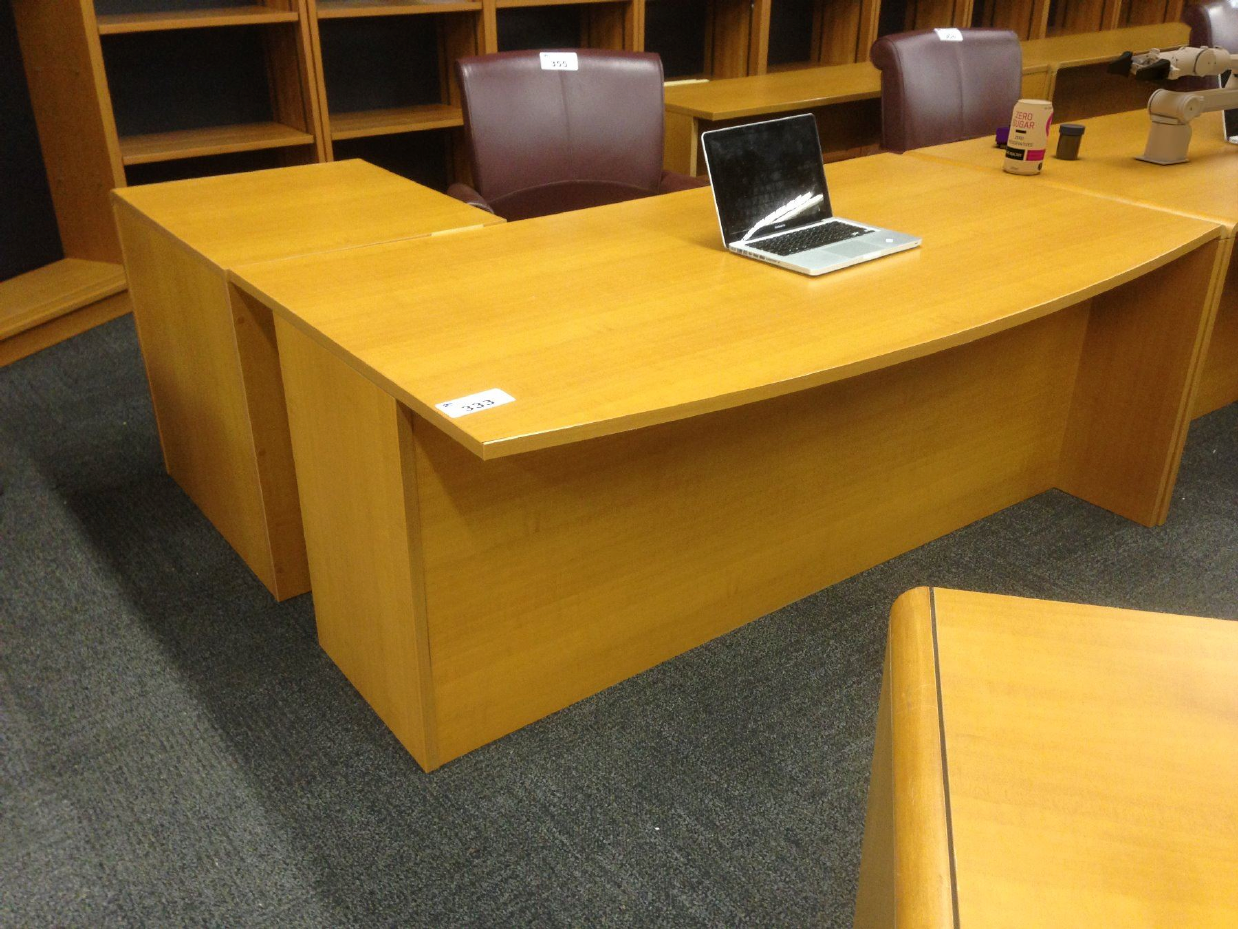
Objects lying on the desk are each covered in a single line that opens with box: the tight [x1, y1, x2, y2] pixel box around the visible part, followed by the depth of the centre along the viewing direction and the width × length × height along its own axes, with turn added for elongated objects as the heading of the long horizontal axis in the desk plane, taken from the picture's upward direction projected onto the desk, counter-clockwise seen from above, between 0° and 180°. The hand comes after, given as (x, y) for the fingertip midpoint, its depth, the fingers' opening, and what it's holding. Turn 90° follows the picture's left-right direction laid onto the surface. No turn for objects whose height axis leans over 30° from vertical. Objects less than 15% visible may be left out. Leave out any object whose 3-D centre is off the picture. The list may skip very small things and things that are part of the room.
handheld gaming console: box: [994, 124, 1011, 150], centre depth 262 cm, size 9×5×15 cm
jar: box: [1054, 133, 1083, 161], centre depth 248 cm, size 5×5×7 cm
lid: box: [1058, 123, 1087, 136], centre depth 247 cm, size 6×6×2 cm
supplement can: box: [1002, 98, 1054, 176], centre depth 232 cm, size 8×8×15 cm
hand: (1122, 71), depth 231 cm, fingers open, 7 cm apart
